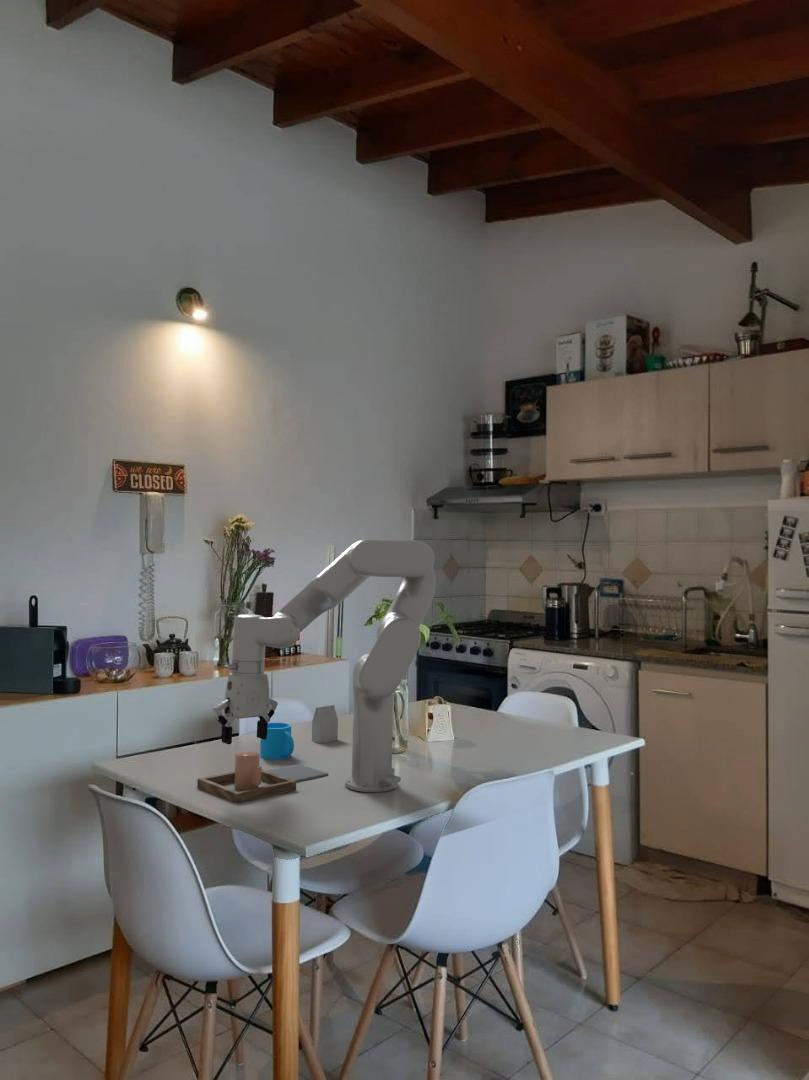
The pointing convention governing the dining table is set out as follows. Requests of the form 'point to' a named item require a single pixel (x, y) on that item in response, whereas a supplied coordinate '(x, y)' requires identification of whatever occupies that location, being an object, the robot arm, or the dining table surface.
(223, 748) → the dining table surface
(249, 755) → the jug
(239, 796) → the wooden square frame
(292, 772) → the mat
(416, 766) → the dining table surface
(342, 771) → the dining table surface
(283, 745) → the mug
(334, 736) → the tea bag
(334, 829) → the dining table surface
